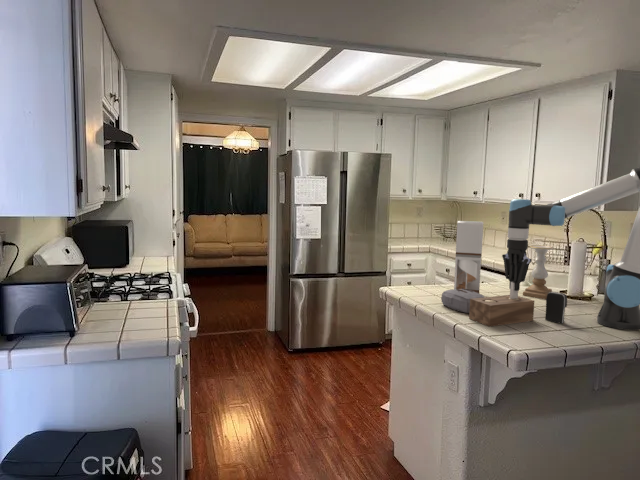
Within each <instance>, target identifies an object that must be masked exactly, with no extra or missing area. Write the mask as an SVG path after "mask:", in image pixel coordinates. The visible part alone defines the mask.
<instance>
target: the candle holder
mask: <svg viewBox="0 0 640 480" xmlns="http://www.w3.org/2000/svg"><path fill="white" fill-rule="evenodd" d="M529 248H530V249H532V250H534V251H535V253H536V257H535V258H534V261H535V263H536V265H535V266H534V268H533V269H532V271H531V274H530V275H531V276H532V278H533V279H532V281H531V282H532V284H531V285H530V286H528V287H526V288H525V289H524V290H523V291H522V297H523V296H524V297H529V298H534V297H535V299H541V300H546V298H547V294H548V293H549V292H553V289H552V288H549V287H547V285H546V284H547V281H546V279H547V278H548V276H549V272H548V271H547V268H546V267H545V264H546V262H547V261H548V260H547V258H546V254H547V253H548V251H553V250H554V247H553V246H550V245H539V244H538V245H537V244H533V245H530V246H529Z"/></svg>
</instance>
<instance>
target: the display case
mask: <svg viewBox="0 0 640 480" xmlns="http://www.w3.org/2000/svg"><path fill="white" fill-rule="evenodd" d="M483 234H484V221H472V220H471V221H470V220H469V221H468V220H457V222H456V243H455V244H456V245H455V258H454V259H455V260H454V261H455V262H454V263H455V266H454V284H453V289H462V288H464V289H468V290H471V291H474V292H476V293H479V294H480V284H481V271H482V270H481V267H482V253H483V252H482V251H483V239H484V237H483V236H484V235H483Z"/></svg>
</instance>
